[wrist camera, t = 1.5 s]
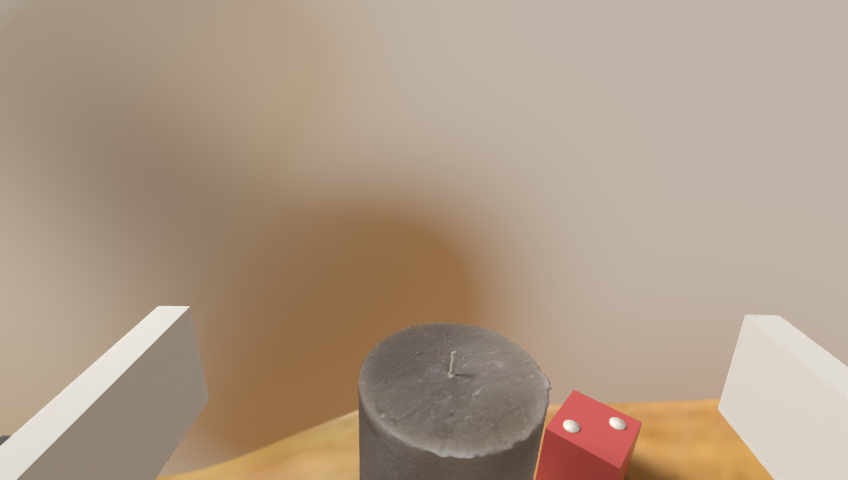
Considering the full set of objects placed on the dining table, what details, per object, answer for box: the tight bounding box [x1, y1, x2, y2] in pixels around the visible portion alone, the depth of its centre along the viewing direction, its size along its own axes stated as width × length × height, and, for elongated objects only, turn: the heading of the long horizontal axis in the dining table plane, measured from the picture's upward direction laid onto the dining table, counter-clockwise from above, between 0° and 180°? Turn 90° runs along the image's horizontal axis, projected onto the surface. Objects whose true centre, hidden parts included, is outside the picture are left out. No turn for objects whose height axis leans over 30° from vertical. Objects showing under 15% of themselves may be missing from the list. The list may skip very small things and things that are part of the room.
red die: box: [536, 390, 642, 480], centre depth 33 cm, size 5×5×5 cm
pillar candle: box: [358, 322, 551, 480], centre depth 26 cm, size 10×10×15 cm
